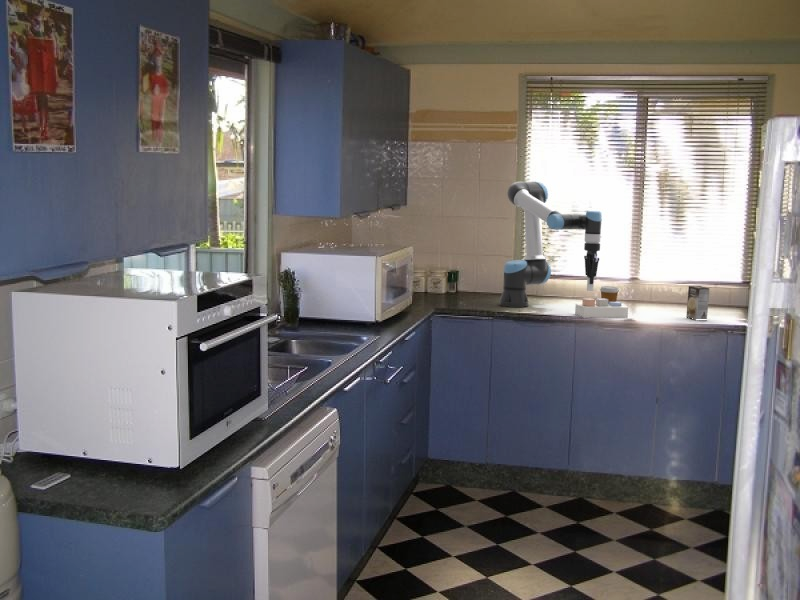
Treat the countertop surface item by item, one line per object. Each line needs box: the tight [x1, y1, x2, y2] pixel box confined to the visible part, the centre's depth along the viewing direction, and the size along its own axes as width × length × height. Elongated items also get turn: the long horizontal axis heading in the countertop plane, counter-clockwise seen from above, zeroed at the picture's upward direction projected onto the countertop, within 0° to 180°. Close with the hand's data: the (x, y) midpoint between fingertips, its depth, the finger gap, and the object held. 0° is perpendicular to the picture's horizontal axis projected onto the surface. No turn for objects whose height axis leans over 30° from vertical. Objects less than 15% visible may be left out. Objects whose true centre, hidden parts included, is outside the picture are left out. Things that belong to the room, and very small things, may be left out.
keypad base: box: [574, 303, 629, 319], centre depth 453 cm, size 11×23×5 cm, turn 102°
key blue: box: [609, 301, 622, 306], centre depth 454 cm, size 5×5×6 cm
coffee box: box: [685, 285, 711, 320], centre depth 449 cm, size 9×6×16 cm
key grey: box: [595, 297, 608, 307], centre depth 452 cm, size 5×5×6 cm
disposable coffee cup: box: [599, 285, 620, 304], centre depth 470 cm, size 10×10×12 cm
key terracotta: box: [581, 297, 596, 307], centre depth 451 cm, size 5×5×6 cm
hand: (590, 290), depth 449 cm, fingers closed
